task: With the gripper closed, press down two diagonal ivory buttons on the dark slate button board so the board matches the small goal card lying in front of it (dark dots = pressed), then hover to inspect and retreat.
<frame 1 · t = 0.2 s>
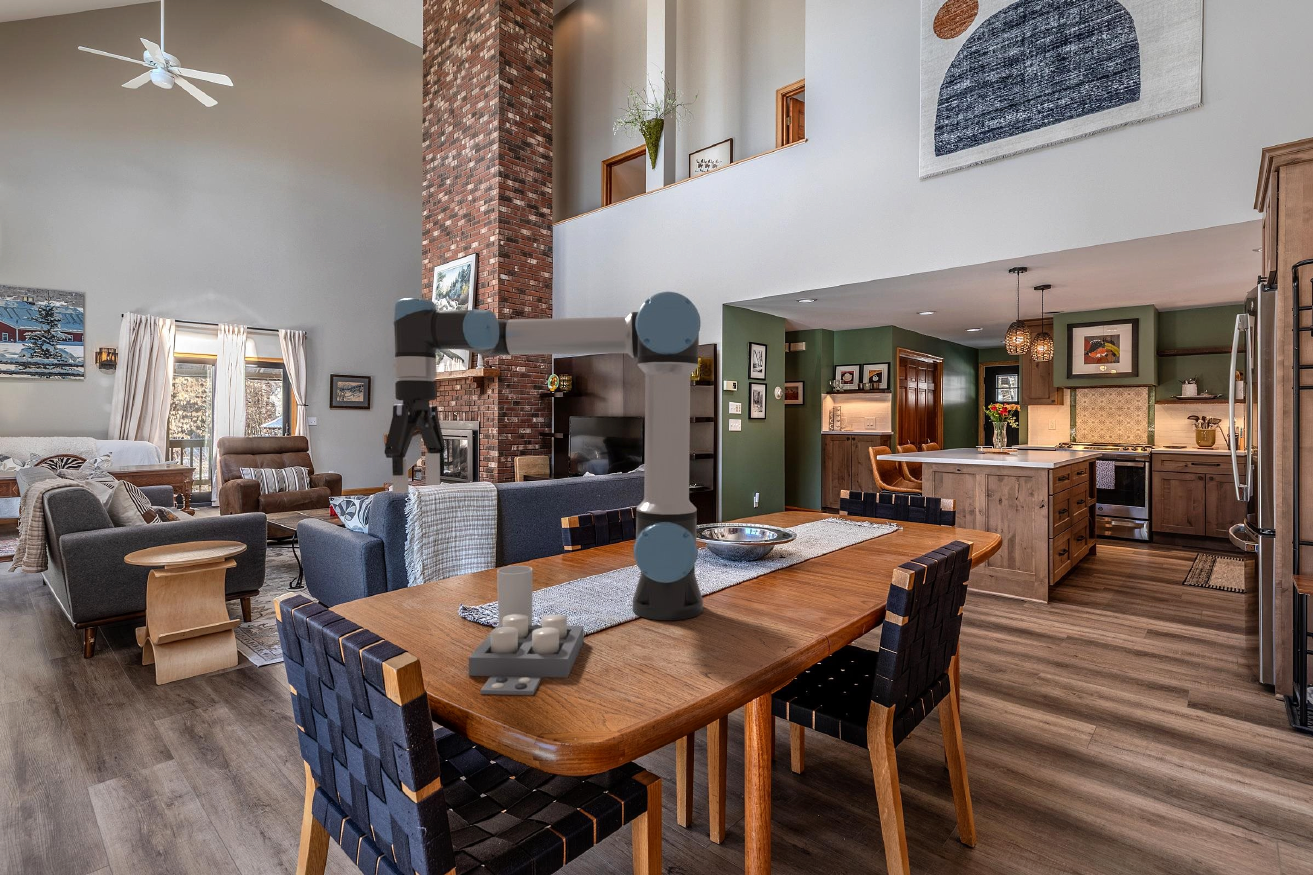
hand: (417, 489, 125), 28 cm above the table, fingers open, 13 cm apart
board: (530, 657, 110), on the table
button a: (554, 628, 113), point 4 cm above the table, slide at 0.0 cm
goal card: (511, 687, 98), on the table
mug: (513, 629, 125), on the table
button b: (515, 627, 114), point 4 cm above the table, slide at 0.0 cm
button d: (504, 641, 107), point 4 cm above the table, slide at 0.0 cm
button c: (545, 642, 106), point 4 cm above the table, slide at 0.0 cm
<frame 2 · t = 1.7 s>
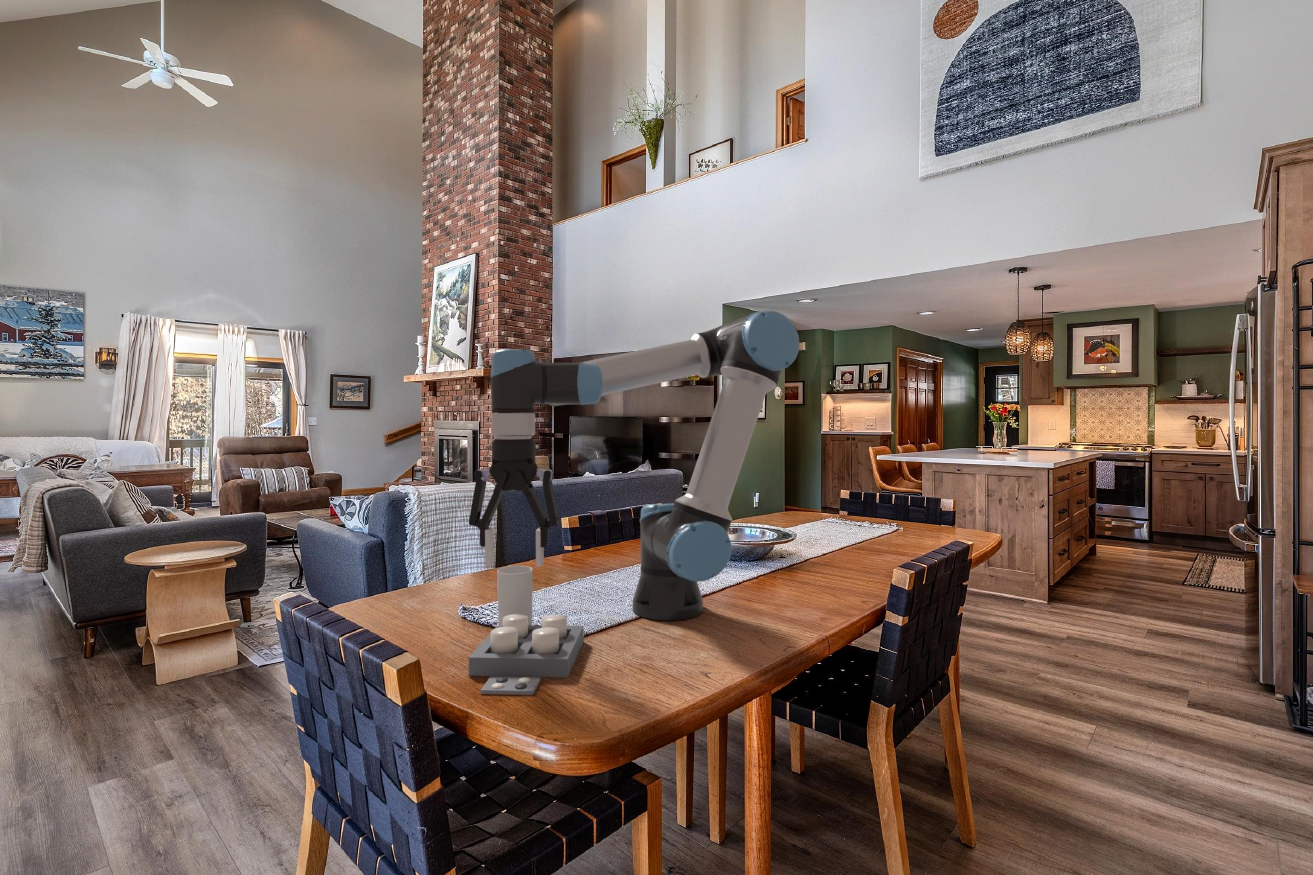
hand: (514, 564, 113), 15 cm above the table, fingers open, 8 cm apart
nothing on the table moved.
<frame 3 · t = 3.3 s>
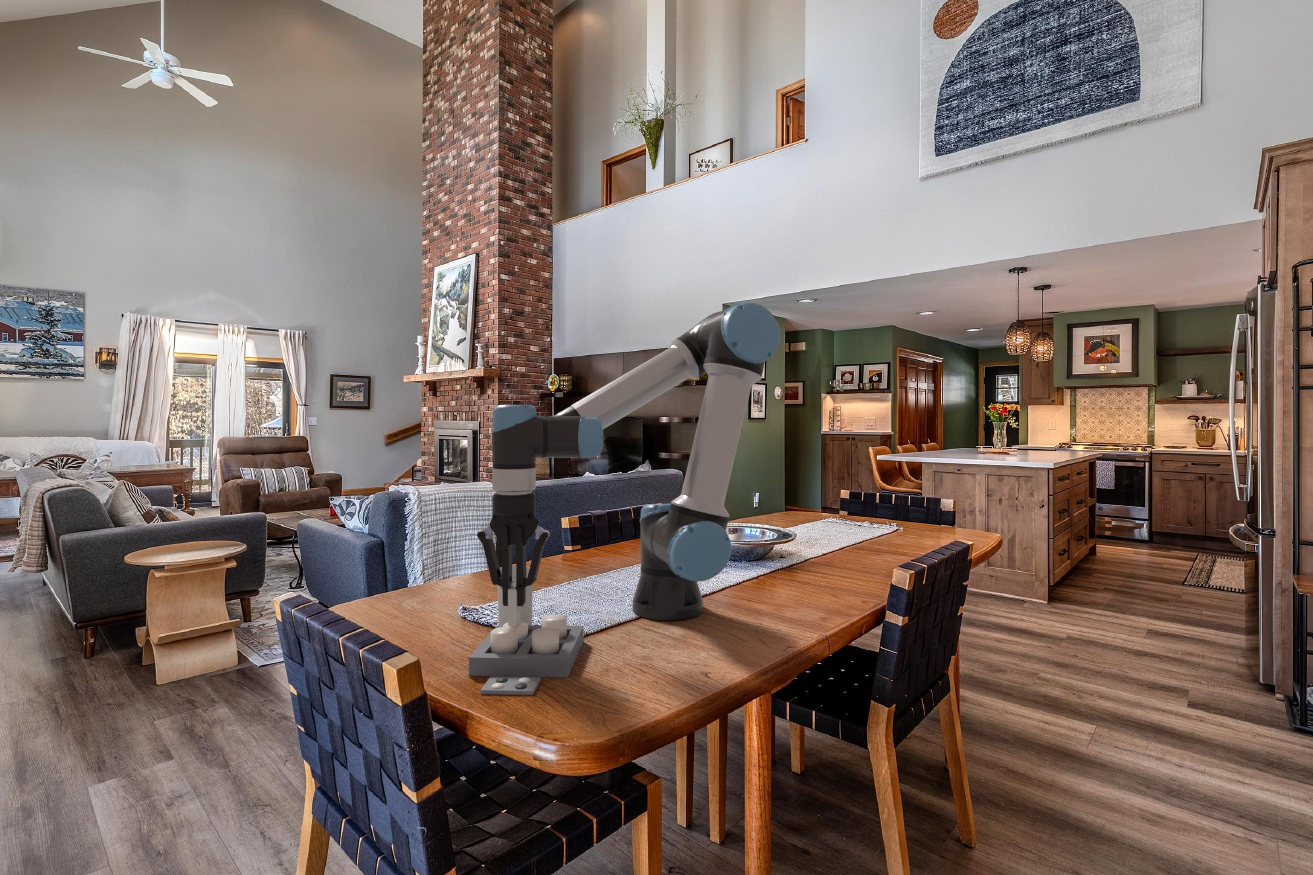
hand: (514, 623, 114), 5 cm above the table, fingers closed
button b: (515, 634, 114), point 3 cm above the table, slide at -1.3 cm, touching gripper
everything else where it was.
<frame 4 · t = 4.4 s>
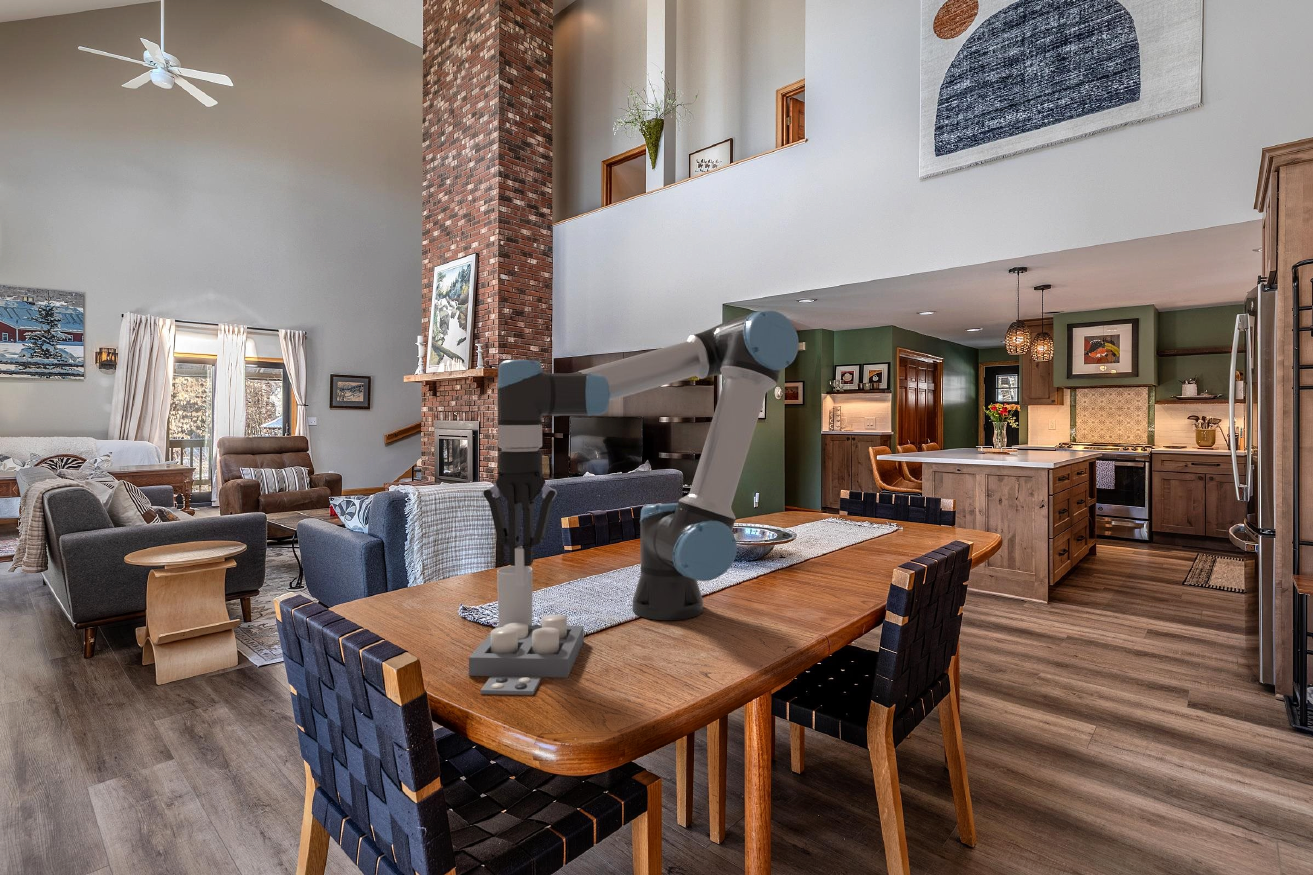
hand: (521, 583, 112), 12 cm above the table, fingers closed
button b: (515, 636, 114), point 2 cm above the table, slide at -1.6 cm
everything else where it was.
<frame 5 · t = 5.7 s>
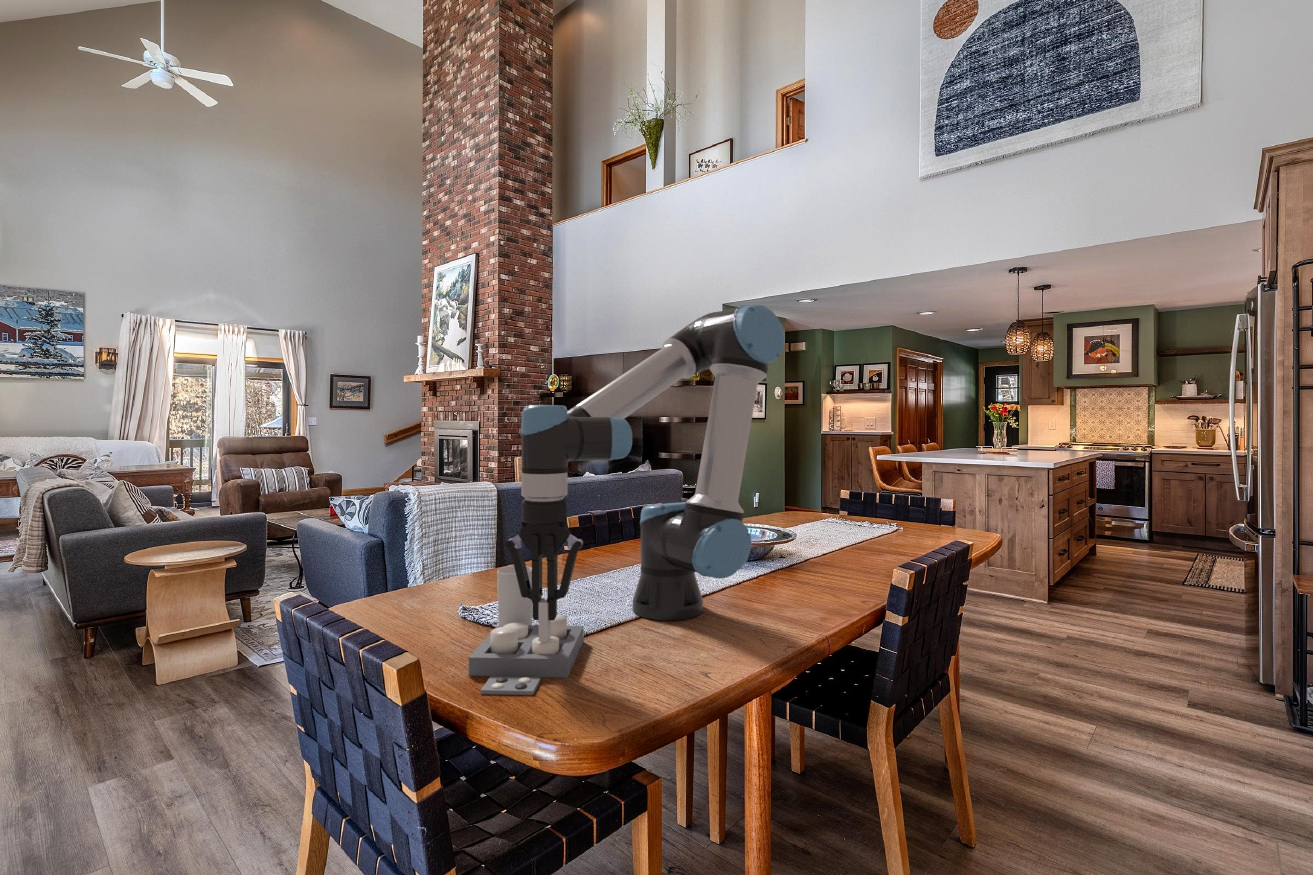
hand: (544, 638, 106), 5 cm above the table, fingers closed
button c: (545, 650, 106), point 3 cm above the table, slide at -1.4 cm
everything else where it was.
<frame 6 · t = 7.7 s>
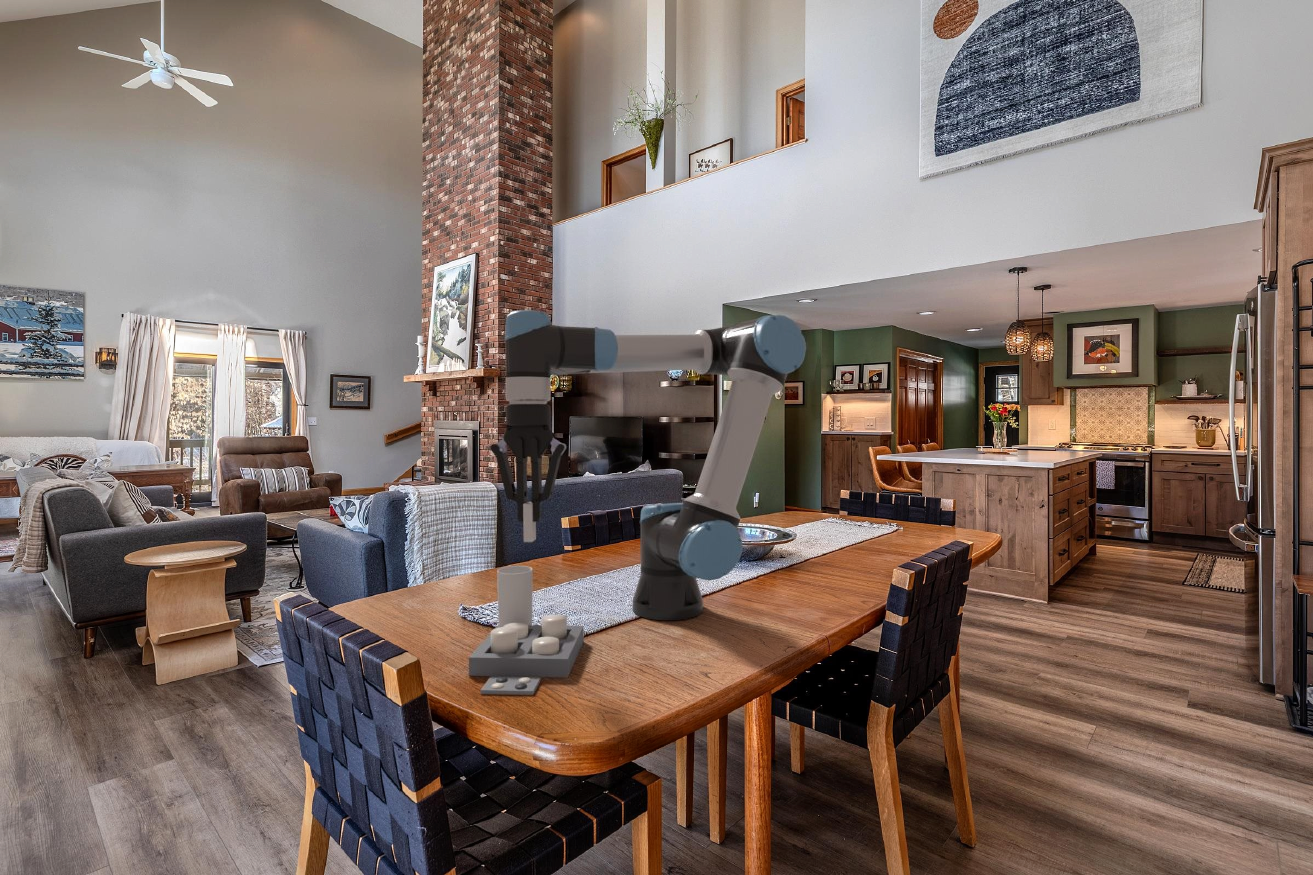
hand: (529, 540, 110), 20 cm above the table, fingers closed
nothing on the table moved.
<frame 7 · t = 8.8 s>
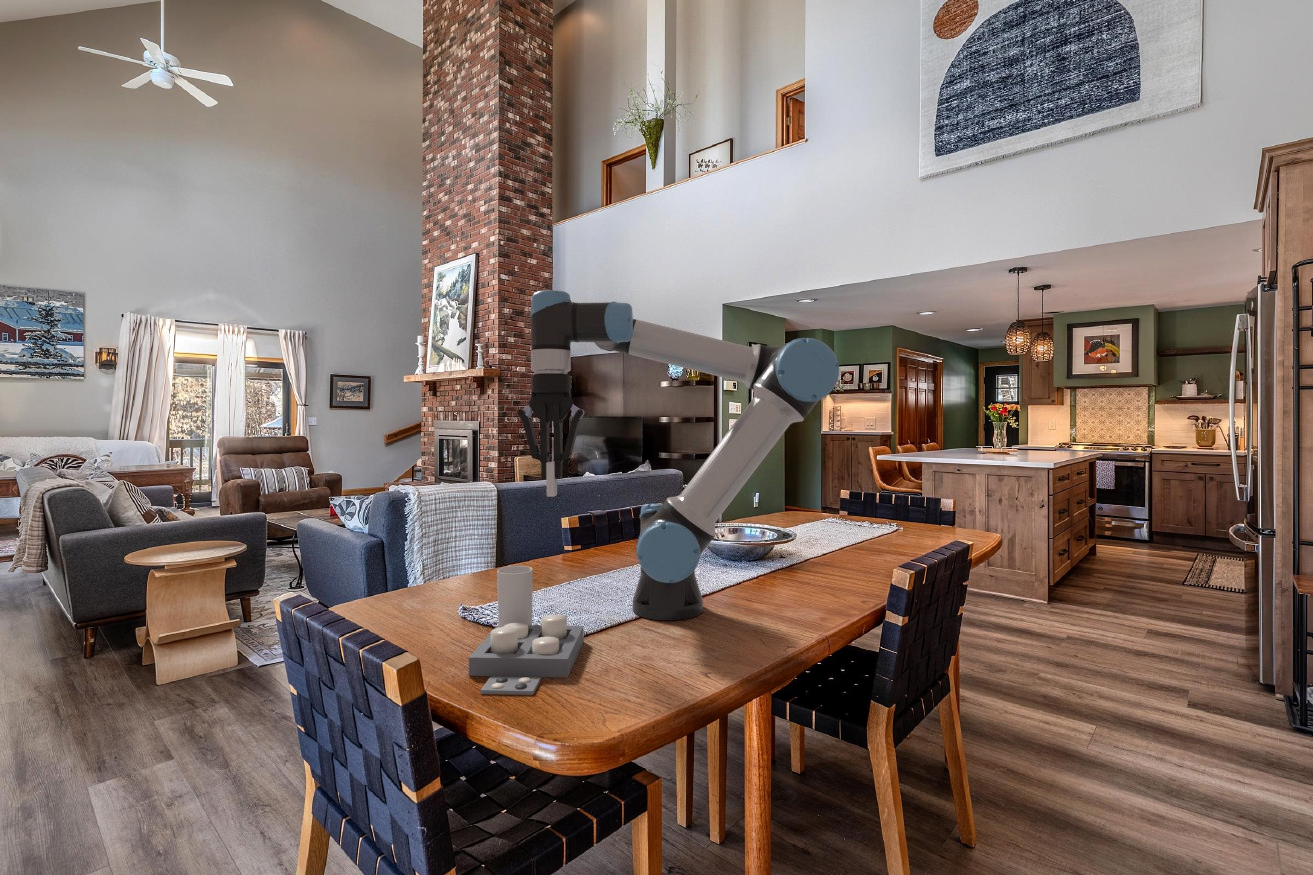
hand: (551, 495, 123), 26 cm above the table, fingers closed
nothing on the table moved.
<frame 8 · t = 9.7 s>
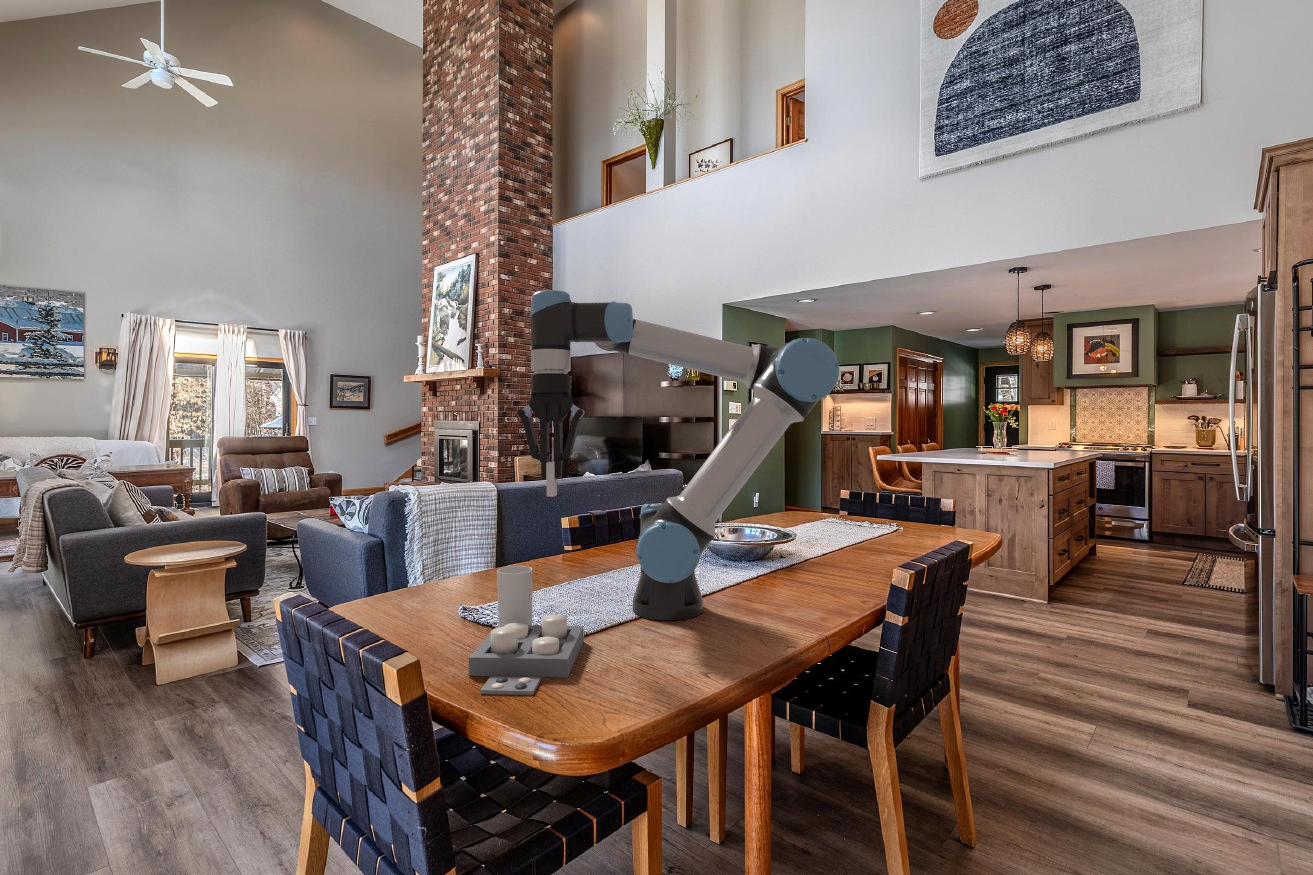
hand: (551, 495, 123), 26 cm above the table, fingers closed
nothing on the table moved.
at the end: button b slide at -1.6 cm; button c slide at -1.6 cm; button d slide at 0.0 cm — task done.
